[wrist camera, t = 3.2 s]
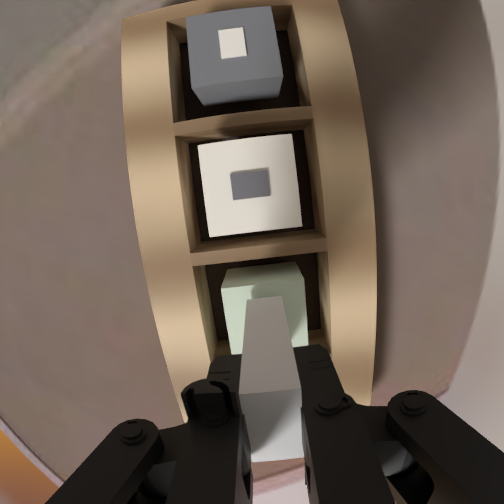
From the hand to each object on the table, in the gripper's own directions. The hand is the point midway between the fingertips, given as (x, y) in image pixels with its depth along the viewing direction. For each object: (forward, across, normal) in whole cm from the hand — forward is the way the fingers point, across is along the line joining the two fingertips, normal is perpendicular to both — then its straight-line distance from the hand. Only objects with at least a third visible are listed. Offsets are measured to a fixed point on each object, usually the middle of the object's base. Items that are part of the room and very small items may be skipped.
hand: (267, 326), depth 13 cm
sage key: (+4, 0, 0) cm, 4 cm away
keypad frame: (+4, 0, +3) cm, 5 cm away
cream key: (+3, 0, +6) cm, 7 cm away
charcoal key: (+3, 0, +12) cm, 12 cm away
